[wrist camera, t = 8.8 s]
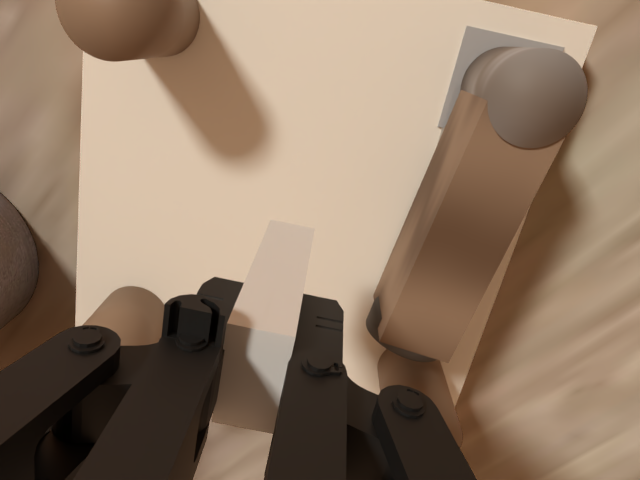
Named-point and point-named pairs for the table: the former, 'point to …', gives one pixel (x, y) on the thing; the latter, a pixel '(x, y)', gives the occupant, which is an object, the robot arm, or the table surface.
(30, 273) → the pillar candle
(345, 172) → the stool seat
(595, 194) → the table surface
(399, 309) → the folding leg
